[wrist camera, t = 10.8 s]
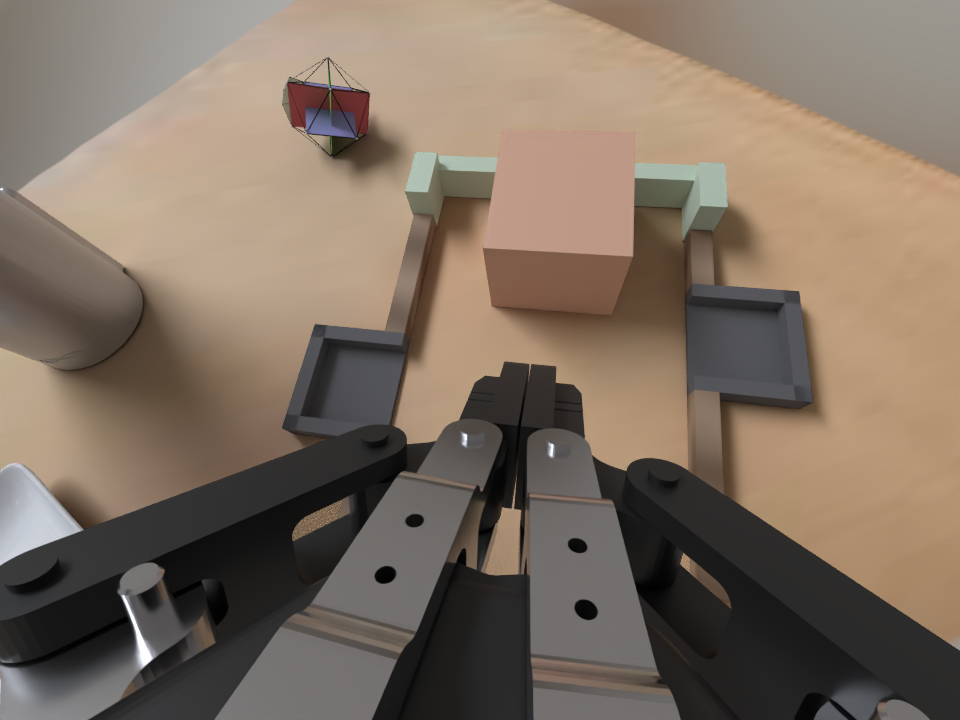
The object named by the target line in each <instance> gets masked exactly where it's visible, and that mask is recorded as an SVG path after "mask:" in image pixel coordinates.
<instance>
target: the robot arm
mask: <svg viewBox="0 0 960 720" xmlns="http://www.w3.org/2000/svg"><path fill="white" fill-rule="evenodd" d="M142 307H143V298H142V292H141V290H140V288H139V286H138V284H137V283H136V282H135V281H134V280H133V279H132V278H130V277H129V276H127V275H126V274H124V272H123V265H122V264H120V263H119V262H117V261H116V260H114V259H113V258H112V257H110V256H109V255H107V254H106V253H104V252H103V251H101V250H100V249H99V248H97V247H96V246H94V245H93V244H91V243H90V242H88V241H87V240H86V239H84V238H83V237H81V236H80V235H78V234H77V233H75V232H74V231H73V230H71V229H70V228H68V227H67V226H65V225H64V224H62V223H61V222H60V221H58V220H57V219H55V218H54V217H52V216H51V215H49V214H48V213H47V212H45V211H44V210H42V209H41V208H39V207H38V206H36V205H35V204H34V203H32V202H31V201H29V200H28V199H26V198H25V197H23V196H22V195H21V194H19V193H18V192H16V191H14V190H12V189H9V188H0V347H1V348H3V349H6V350H9V351H11V352H14V353H17V354H19V355H22V356H25V357H28V358H30V359H33V360H36V361H38V362H41V363H44V364H46V365H49V366H52V367H54V368H57V369H63V370H75V369H81V368H85V367H88V366H92V365H94V364H96V363H98V362H100V361H102V360H104V359H105V358H107V357H108V356H110V355H111V354H113V353H114V352H115V351H116V350H117V349H118V348H120V347H121V346H122V345H123V344H124V343H125V342H126V340H127V339H128V338H129V337H130V335H131V334H132V333H133V331H134V329H135V327H136V326H137V324H138V322H139V319H140V316H141V313H142ZM528 378H529V381H528ZM516 477H517V481H516ZM515 483H516V493H515V506H514V509H519V510H521V520H520V531H519V556H518V575H498V576H495V575H488V574H485V571H486V568H487V564H488V561H489V558H490V554H491V551H492V547H493V544H494V541H495V537H496V533H497V522H498V520H499V519H500V515H501V510H502V507H504V508H511V509H512V502H513V496H514V489H515ZM346 497H348V499H349V508H350V513H349V514H347V515H345V516H343V517H341V518H339V519H337V520H335V521H333V522H331V523H329V524H327V525H325V526H323V527H321V528H319V529H317V530H315V531H313V532H311V533H309V534H307V535H305V536H303V537H301V538H299V539H297V540H295V541H292V533H293V530H294V528H295V527H296V525H297V524H298V523H299V522H300V521H301V520H302V519H303V518H304V517H306V516H308V515H310V514H312V513H314V512H316V511H318V510H320V509H322V508H325V507H327V506H329V505H331V504H333V503H335V502H337V501H339V500H342V499H344V498H346ZM683 553H684V554H686V555H687V556H688V557H689V558H690V559H692V560H693V561H694V562H695V563H696V564H698V565H699V566H700V567H701V568H702V569H703V570H705V571H706V572H707V573H708V574H709V575H711V576H712V577H713V578H714V579H715V580H716V581H717V582H719V583H720V585H721V586H722V587H723V588H724V590H725V591H726V593H727V595H728V597H729V599H730V602H731V607H732V610H731V609H730V608H729V607H728V606H727V605H726V604H724V603H723V602H722V601H721V600H720V599H719V598H718V597H716V596H715V595H714V594H713V593H712V592H711V591H710V590H708V589H707V588H706V587H705V586H704V585H703V584H702V583H701V582H699V581H698V580H697V579H696V578H695V577H694V576H693V575H691V574H690V573H689V572H688V571H687V570H686V569H685V568H683V567H682V566H681V565H680V562H681V559H682V555H683ZM0 680H1V690H0V720H960V651H959V650H958V649H956V648H955V647H953V646H952V645H950V644H949V643H947V642H946V641H944V640H943V639H941V638H940V637H938V636H937V635H935V634H934V633H932V632H931V631H929V630H928V629H926V628H925V627H923V626H922V625H920V624H919V623H917V622H916V621H914V620H913V619H911V618H910V617H908V616H907V615H905V614H904V613H902V612H901V611H899V610H898V609H896V608H895V607H893V606H891V605H890V604H888V603H887V602H885V601H884V600H882V599H881V598H879V597H878V596H876V595H875V594H873V593H872V592H870V591H869V590H867V589H866V588H864V587H863V586H861V585H860V584H858V583H857V582H855V581H854V580H852V579H851V578H849V577H848V576H846V575H845V574H843V573H842V572H840V571H839V570H837V569H836V568H834V567H833V566H831V565H830V564H828V563H827V562H825V561H824V560H822V559H821V558H819V557H818V556H816V555H815V554H813V553H811V552H810V551H808V550H807V549H805V548H804V547H802V546H801V545H799V544H798V543H796V542H795V541H793V540H792V539H790V538H789V537H787V536H786V535H784V534H783V533H781V532H780V531H778V530H777V529H775V528H774V527H772V526H771V525H769V524H768V523H766V522H765V521H763V520H762V519H760V518H759V517H757V516H756V515H754V514H753V513H751V512H750V511H748V510H747V509H745V508H744V507H742V506H741V505H739V504H738V503H736V502H735V501H733V500H731V499H730V498H728V497H727V496H725V495H724V494H722V493H721V492H719V491H718V490H716V489H715V488H713V487H712V486H710V485H709V484H707V483H706V482H704V481H703V480H701V479H700V478H698V477H697V476H695V475H694V474H692V473H691V472H689V471H688V470H686V469H685V468H683V467H681V466H679V465H677V464H675V463H672V462H669V461H666V460H661V459H654V458H644V459H639V460H636V461H634V462H632V463H631V464H630V465H629V466H628V468H627V471H624V470H621V469H618V468H615V467H612V466H609V465H607V464H605V463H603V462H601V461H599V460H598V459H596V458H595V457H594V456H593V455H592V453H591V449H590V446H589V444H588V442H587V441H586V440H585V435H584V422H583V408H582V395H581V393H580V392H579V391H578V389H577V388H576V387H575V386H574V385H571V384H561V383H556V366H546V365H535V364H531V369H530V375H529V364H525V363H514V362H504V365H503V368H502V371H501V375H500V377H492V376H484V377H483V378H481V379H480V380H478V381H477V382H475V384H474V386H473V388H472V391H471V393H470V395H469V398H468V401H467V403H466V405H465V407H464V410H463V412H462V414H461V417H460V419H459V420H458V421H455V422H453V423H451V424H449V425H447V426H446V427H445V428H444V429H443V431H442V433H441V434H440V436H439V437H438V439H437V441H434V442H429V443H418V444H407V438H406V435H405V433H404V432H403V431H402V430H400V429H399V428H397V427H394V426H391V425H383V424H375V425H368V426H364V427H360V428H358V429H355V430H352V431H349V432H347V433H344V434H341V435H339V436H336V437H333V438H331V439H328V440H325V441H322V442H320V443H317V444H314V445H312V446H309V447H306V448H304V449H301V450H298V451H295V452H293V453H290V454H287V455H285V456H282V457H279V458H277V459H274V460H271V461H269V462H266V463H263V464H260V465H258V466H255V467H252V468H250V469H247V470H244V471H242V472H239V473H236V474H233V475H231V476H228V477H225V478H223V479H220V480H217V481H215V482H212V483H209V484H206V485H204V486H201V487H198V488H196V489H193V490H190V491H188V492H185V493H182V494H179V495H177V496H174V497H171V498H169V499H166V500H163V501H161V502H158V503H155V504H152V505H150V506H147V507H144V508H142V509H139V510H136V511H134V512H131V513H128V514H126V515H123V516H120V517H117V518H115V519H112V520H109V521H107V522H104V523H101V524H99V525H96V526H93V527H90V528H88V529H85V530H82V531H80V532H77V533H74V534H72V535H69V536H66V537H63V538H61V539H58V540H55V541H53V542H50V543H47V544H45V545H42V546H39V547H36V548H34V549H31V550H29V551H26V552H24V553H22V554H20V555H18V556H16V557H14V558H12V559H10V560H8V561H7V562H5V563H3V564H2V565H0Z"/></svg>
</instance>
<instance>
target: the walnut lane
mask: <svg viewBox="0 0 960 720" xmlns="http://www.w3.org/2000/svg"><path fill="white" fill-rule="evenodd" d="M435 227H436V226H435V222H434V219H433V215H432V214H416V213H414V217H413V221H412V225H411V229H410V233H409V237H408V241H407V245H406V249H405V253H404V257H403V261H402V265H401V269H400V273H399V277H398V281H397V285H396V289H395V293H394V297H393V301H392V305H391V309H390V313H389V317H388V320H387V324H386V328H385V331H389V332H399V333H405V335H406V337H407V338H408V340H409V341H410V337H411V333H412V328H413V324H414V319H415V315H416V311H417V306H418V302H419V297H420V293H421V289H422V284H423V280H424V276H425V271H426V267H427V262H428V258H429V254H430V249H431V245H432V240H433V236H434V232H435ZM684 253H685V294H686V292H687V291H688V289H689V288H690V286H691V284H705V285H714V265H713V243H712V230H698V229H690V231H689V233H688V235H687V237H686V239H685V241H684ZM687 413H688V467H689V472H691V473H692V474H694V475H695V476H697V477H698V478H700V479H701V480H703V481H704V482H706V483H707V484H709V485H710V486H712V487H713V488H715V489H716V490H718V491H719V492H721V493H722V494H724V481H723V459H722V438H721V416H720V395H719V392H711V391H702V390H694V391H693V392H692V393H691V394H690V395H689V396H687ZM349 513H350V508H349V499H348V497H346V498H344V499H342V503H341V507H340V511H339V515H338V519H339V518H341V517H343V516H345V515H347V514H349ZM690 573H691V575H693V576H694V577H695V578H696V579H697V580H698V581H699V582H701V583H702V584H703V585H704V586H705V587H706V588H707V589H708V590H710V591H711V592H712V593H713V594H714V595H715V596H716V597H718V598H719V599H723V600H729V597H728V595H727V593H726V591H725V590H724V588H723V587H722V586H721V585H720V583H719V582H717V581H716V580H715V579H714V578H713V577H712V576H711V575H709V574H708V573H707V572H706V571H705V570H703V569H702V568H701V567H700V566H699V565H698V564H696V563H695V562H694V561H693V560H692V559H690Z"/></svg>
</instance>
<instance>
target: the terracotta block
mask: <svg viewBox="0 0 960 720" xmlns="http://www.w3.org/2000/svg"><path fill="white" fill-rule="evenodd" d="M634 183H635V132H605V131H554V130H502V136H501V142H500V148H499V154H498V160H497V166H496V172H495V178H494V184H493V190H492V196H491V202H490V208H489V214H488V220H487V226H486V232H485V238H484V244H483V252H484V258H485V265H486V272H487V278H488V285H489V291H490V298H491V304H492V306H497V307H510V308H523V309H536V310H549V311H562V312H575V313H588V314H601V315H612V313H613V311H614V308H615V305H616V302H617V300H618V297H619V294H620V291H621V289H622V286H623V283H624V280H625V278H626V275H627V272H628V269H629V267H630V264H631V261H632V258H633V236H634Z"/></svg>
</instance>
